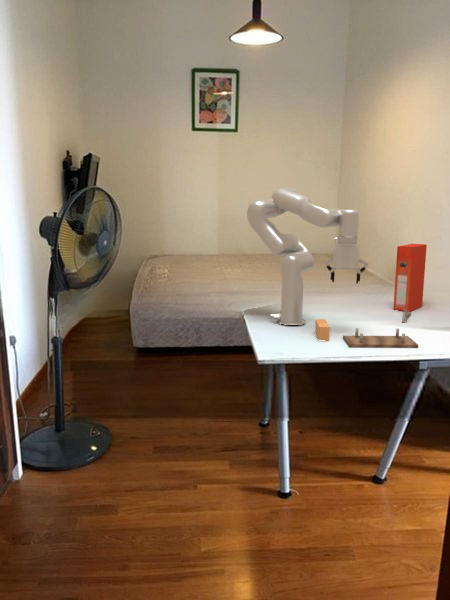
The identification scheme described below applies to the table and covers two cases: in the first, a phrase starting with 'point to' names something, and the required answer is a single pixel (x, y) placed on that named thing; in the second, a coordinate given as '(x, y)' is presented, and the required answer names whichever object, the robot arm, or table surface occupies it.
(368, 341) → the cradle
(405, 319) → the caliper
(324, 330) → the jaw block
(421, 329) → the table surface
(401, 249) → the file binder
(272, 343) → the table surface
